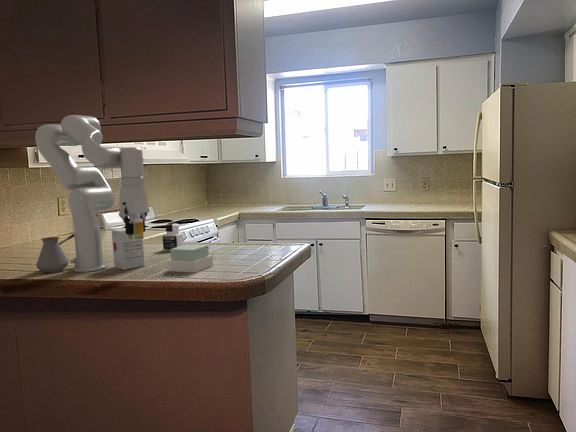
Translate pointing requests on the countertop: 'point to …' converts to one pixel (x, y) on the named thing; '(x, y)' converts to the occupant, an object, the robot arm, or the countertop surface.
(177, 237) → the medicine bottle
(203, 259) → the block
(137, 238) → the supplement bottle
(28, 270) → the countertop surface
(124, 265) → the supplement box
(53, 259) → the coffee pot
